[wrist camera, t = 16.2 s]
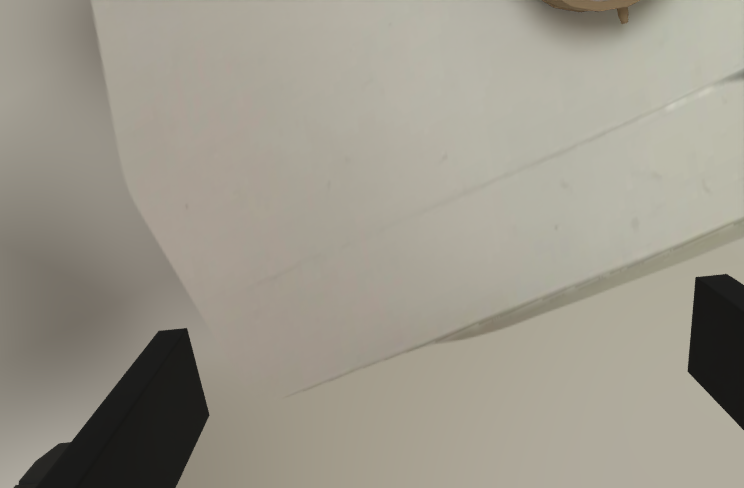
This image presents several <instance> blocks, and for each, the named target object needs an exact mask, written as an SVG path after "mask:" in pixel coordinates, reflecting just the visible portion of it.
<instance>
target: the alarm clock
mask: <svg viewBox="0 0 744 488" xmlns="http://www.w3.org/2000/svg"><path fill="white" fill-rule="evenodd" d="M542 1H544V2H546V3H547V4H549V5H550V6H552V7H554V8H559V9H565V10H570V11H576V12H584V11H605V10H611V9H616V8H617V11H618V16H619V19H620V21H621V24H625V23H627V22H628V6H630V5H632V4H634V3H636V2H638V1H640V0H542Z"/></svg>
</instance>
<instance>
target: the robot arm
mask: <svg viewBox="0 0 744 488" xmlns="http://www.w3.org/2000/svg"><path fill="white" fill-rule="evenodd" d="M688 372H689V373H690V374H691V375H692V376H693V377H694V379H695V380H696V381H697V382H698V383H699V384H700V385H701V386H702V387H703V388H704V389H705V390H706V391H707V392H708V393H709V394H710V395H711V396H712V397H713V398H714V400H715V401H716V402H717V403H718V404H720V406H721V407H722V408H723V409H724V410H725V411H726V412H727V413H728V414H729V415H730V416H731V417H732V418H733V419H734V420H735V421H736V422H737V424H738V425H739V426H740V427H741V428H742V429H743V430H744V285H743V284H741V283H740V282H738V281H737V280H735V279H734V278H732V277H730V276H729V275H727V274H723V275H713V276H703V277H696V280H695V291H694V303H693V315H692V326H691V338H690V350H689V362H688ZM208 417H209V412H208V408H207V404H206V400H205V396H204V392H203V389H202V385H201V381H200V377H199V373H198V369H197V366H196V361H195V358H194V354H193V350H192V346H191V342H190V338H189V335H188V331H187V328H184V329H174V330H165V331H158V333H157V334H156V335H155V336H154V338H153V339H152V340H151V341H150V343H149V344H148V345H147V347H146V348H145V349H144V351H143V352H142V353H141V354H140V355H139V357H138V358H137V359H136V361H135V362H134V363H133V364H132V366H131V367H130V368H129V369H128V371H127V372H126V373H125V374H124V376H123V377H122V378H121V380H120V381H119V382H118V383H117V385H116V386H115V387H114V388H113V390H112V391H111V392H110V394H109V395H108V396H107V397H106V399H105V400H104V401H103V402H102V404H101V405H100V406H99V407H98V409H97V410H96V411H95V413H94V414H93V415H92V417H91V418H90V419H89V420H88V421H87V423H86V424H85V425H84V427H83V428H82V429H81V430H80V432H79V433H78V434H77V435H76V437H75V438H74V439H73V441H72V442H70V443H60V444H58V445H57V446H55V447H54V448H53V449H51V450H50V451H49V452H47V453H46V454H45V455H43V456H42V457H41V458H39V459H38V460H37V461H36V462H35V463H34V464H33V465H32V467H30V469H29V470H28V471H27V472H26V474H25V475H24V476H23V477H22V478H21V479H20V481H19V485H16V486H15V487H14V488H175V487H176V485H177V483H178V481H179V479H180V477H181V475H182V472H183V471H184V468H185V466H186V464H187V462H188V460H189V458H190V455H191V453H192V451H193V449H194V447H195V445H196V443H197V441H198V438H199V436H200V434H201V432H202V430H203V427H204V426H205V423H206V421H207V419H208Z"/></svg>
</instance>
